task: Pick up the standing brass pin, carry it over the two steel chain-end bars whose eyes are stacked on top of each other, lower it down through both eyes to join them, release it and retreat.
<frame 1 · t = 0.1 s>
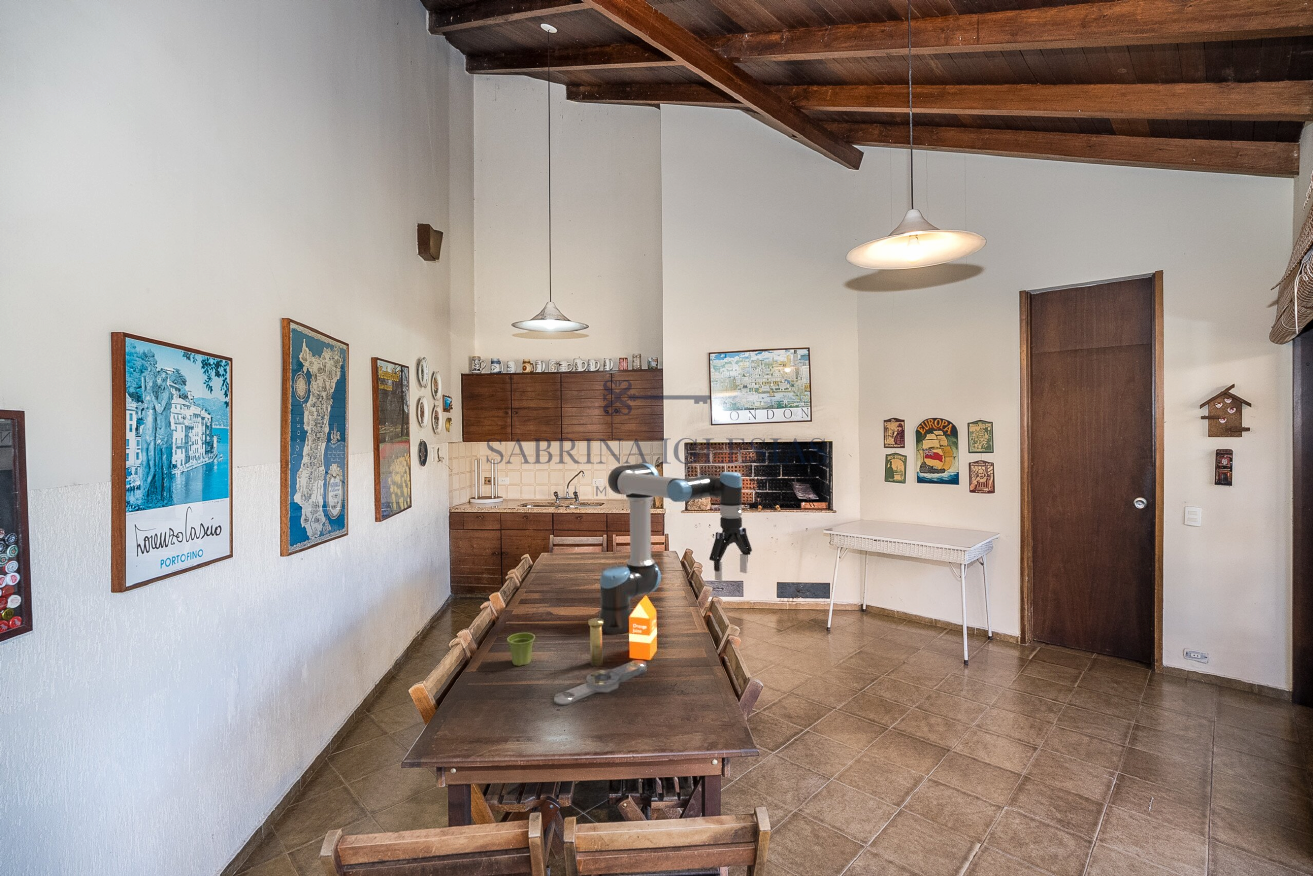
hand: (731, 576, 207), 28 cm above the table, fingers open, 13 cm apart
chain ends: (602, 684, 186), on the table
plant pot: (521, 663, 204), on the table
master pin: (596, 663, 202), on the table
orange juice: (643, 654, 210), on the table
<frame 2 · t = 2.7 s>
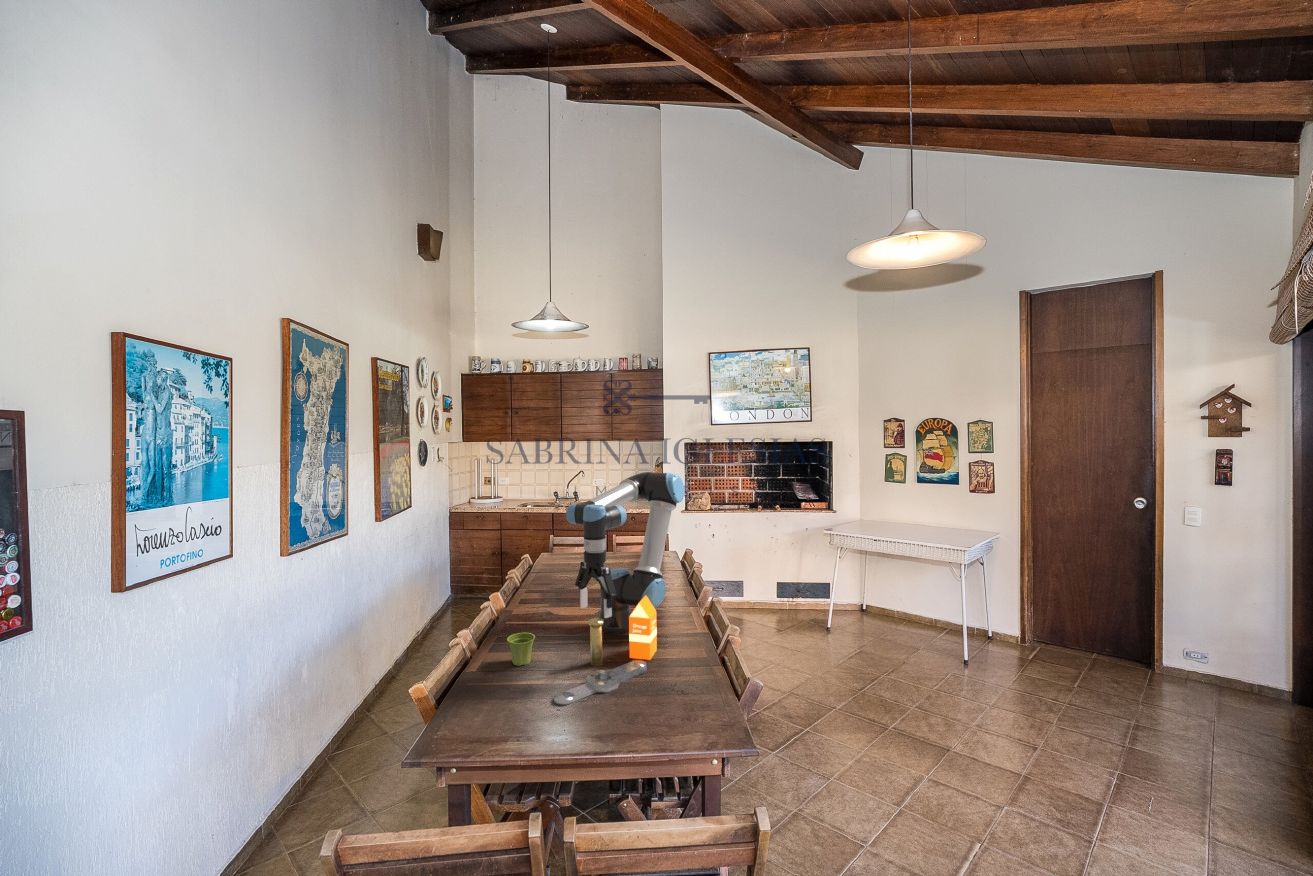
hand: (595, 612, 201), 18 cm above the table, fingers open, 13 cm apart
nothing on the table moved.
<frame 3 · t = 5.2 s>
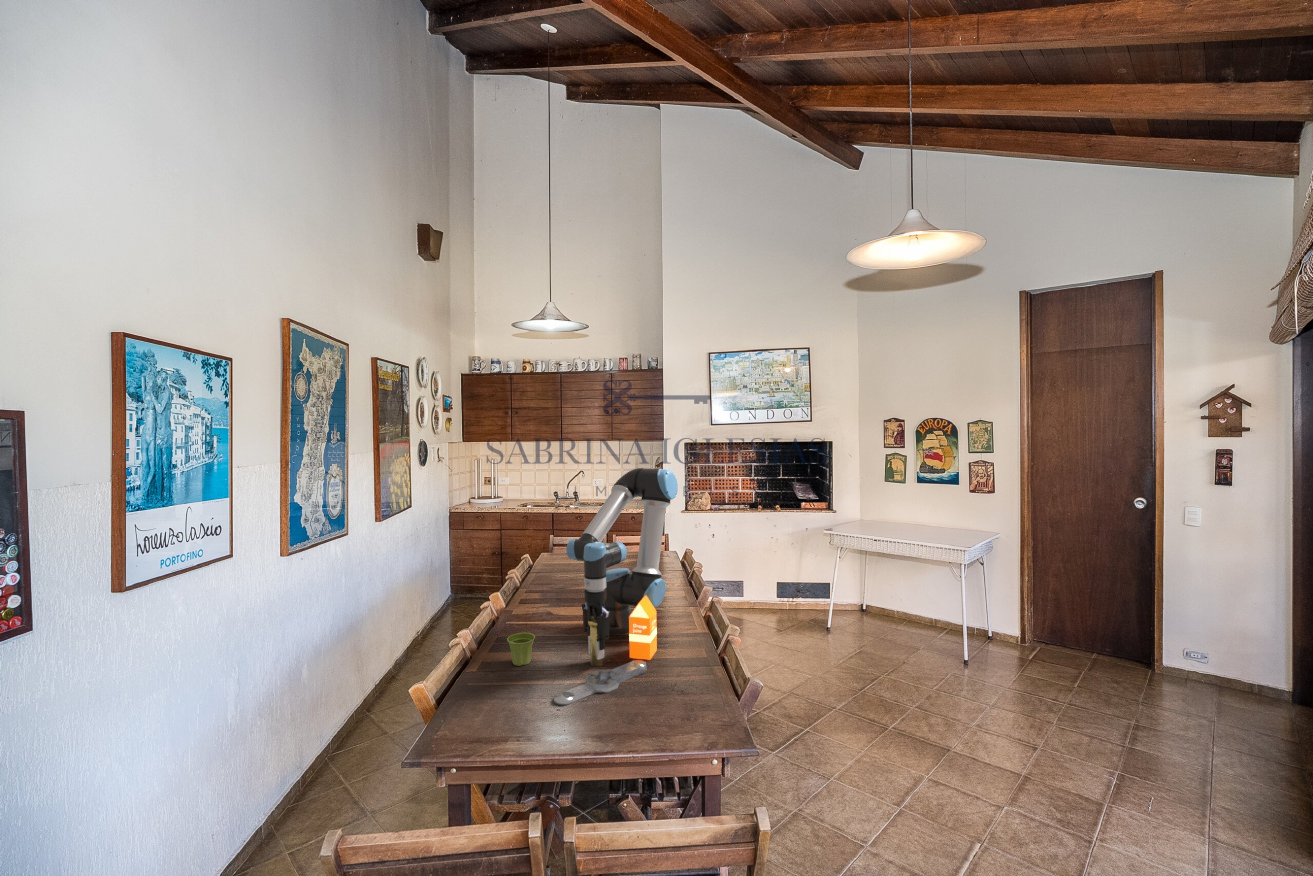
hand: (596, 656, 202), 3 cm above the table, fingers closed on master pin, 4 cm apart
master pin: (596, 663, 202), on the table, touching gripper
everything else where it was.
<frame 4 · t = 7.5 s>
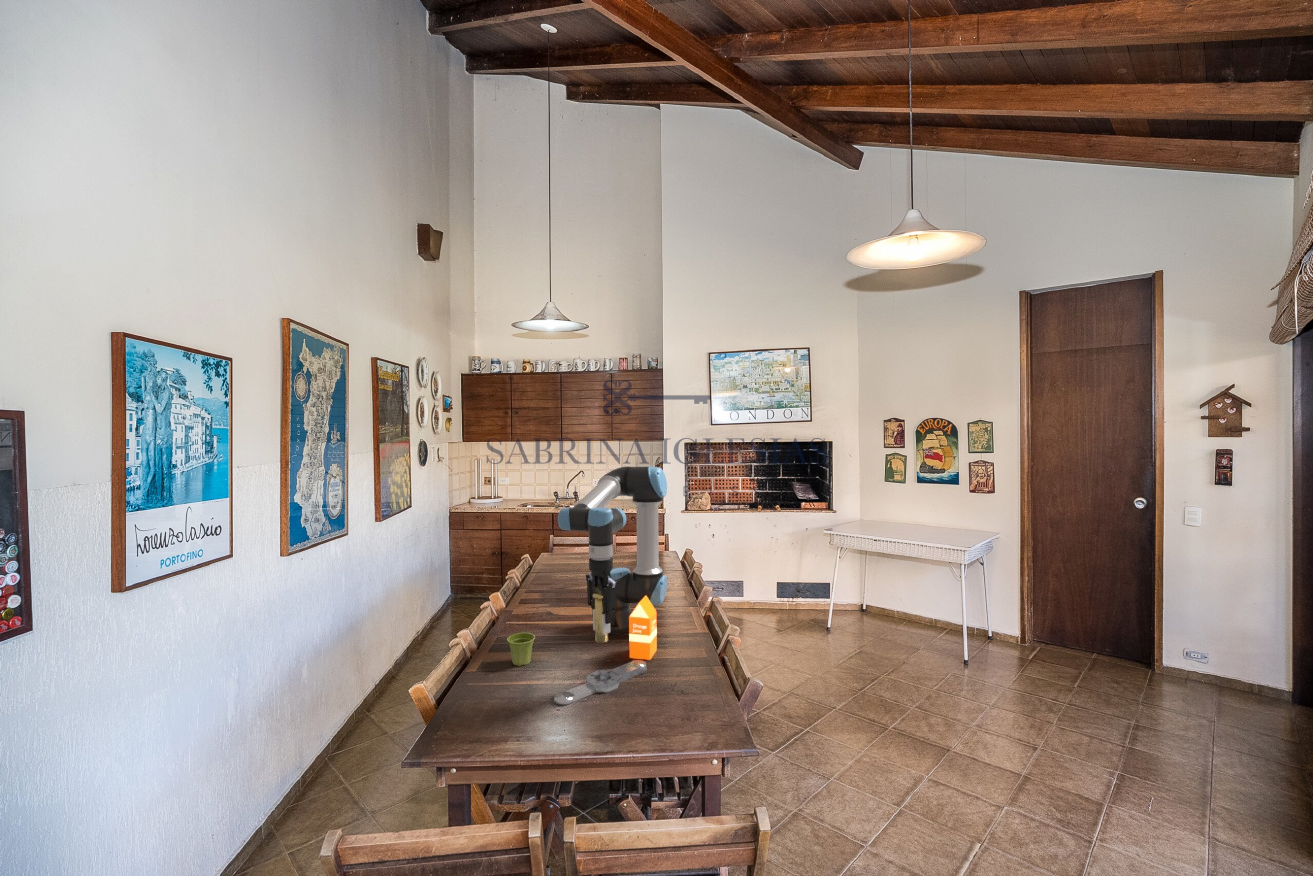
hand: (601, 631, 185), 17 cm above the table, fingers closed on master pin, 4 cm apart
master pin: (601, 640, 185), point 14 cm above the table, touching gripper
everything else where it was.
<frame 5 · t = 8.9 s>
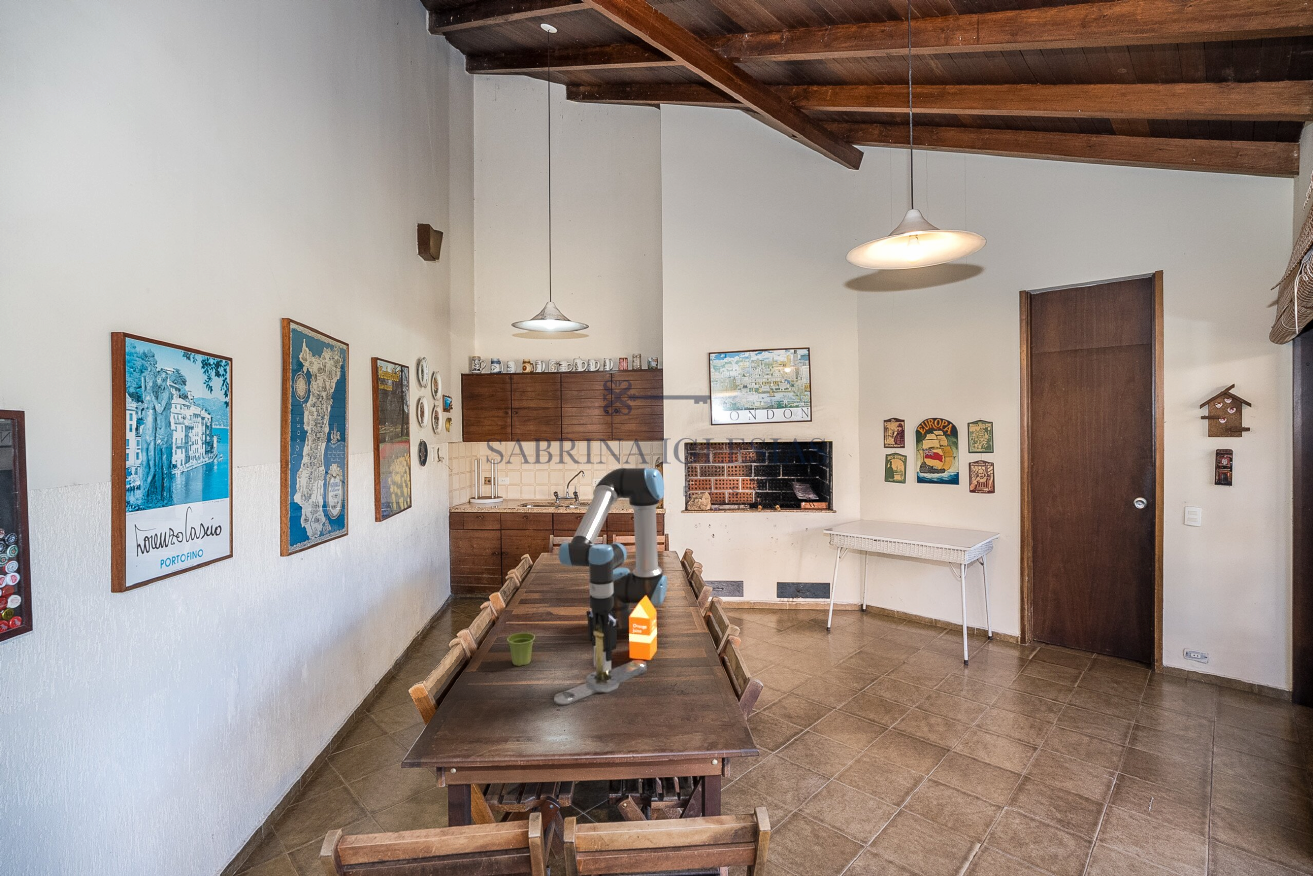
hand: (602, 667, 186), 6 cm above the table, fingers closed on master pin, 4 cm apart
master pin: (602, 677, 186), point 2 cm above the table, touching gripper
everything else where it was.
when the fingers open (4 cm above the table, at t = 9.9 s): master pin stays where it is, resting in chain ends.
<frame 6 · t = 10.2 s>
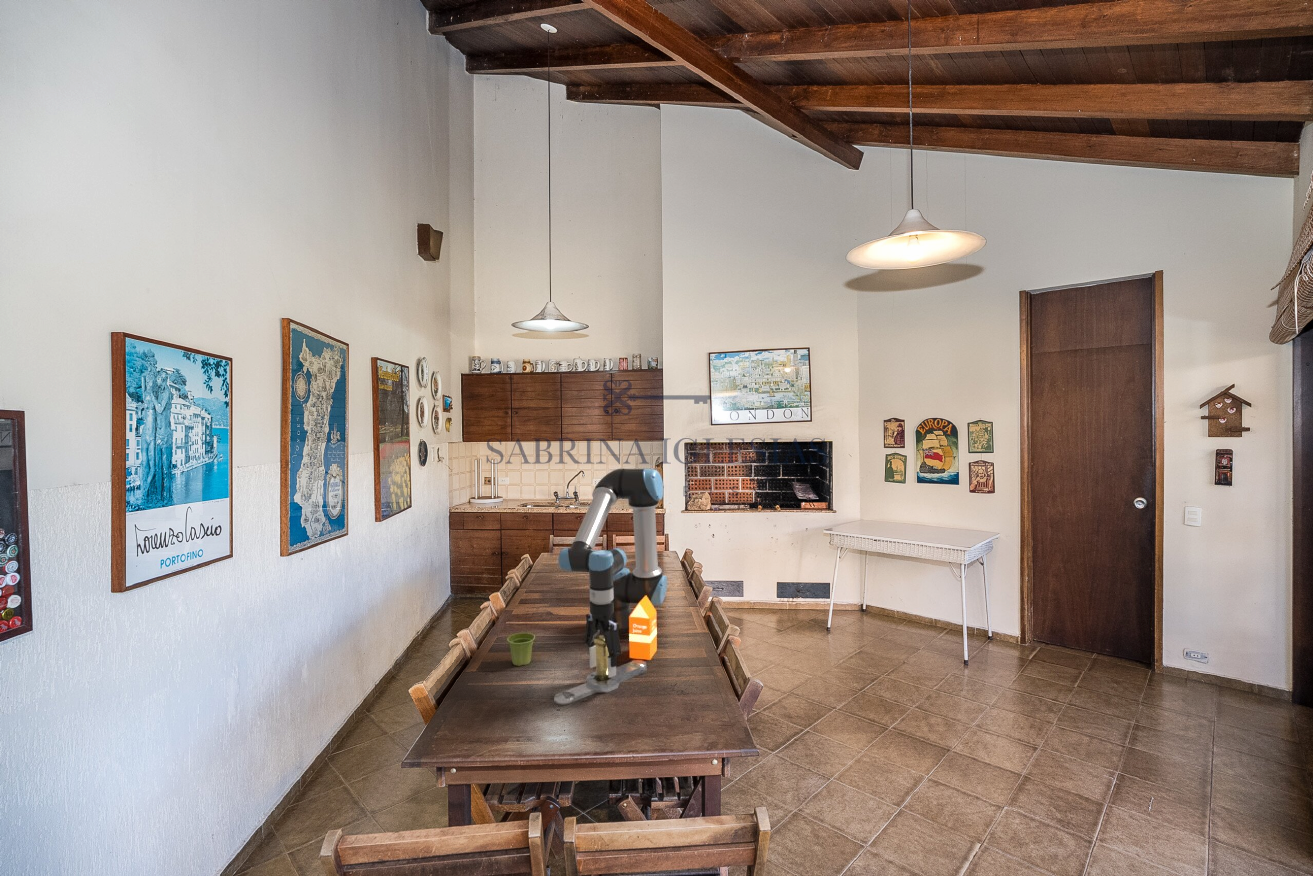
hand: (602, 671, 186), 4 cm above the table, fingers open, 9 cm apart
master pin: (602, 684, 186), resting in chain ends
everything else where it was.
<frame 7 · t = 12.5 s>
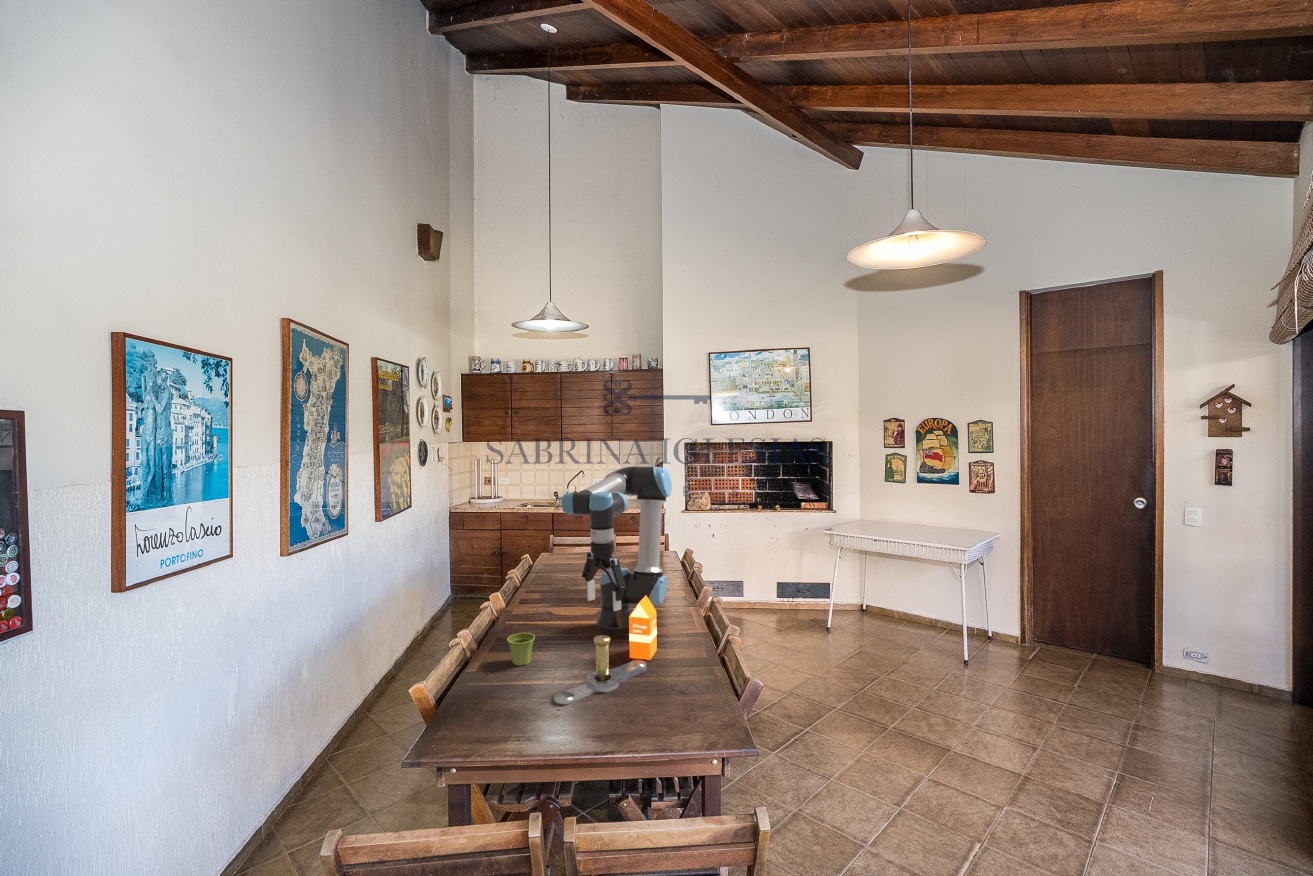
hand: (603, 605, 192), 24 cm above the table, fingers open, 13 cm apart
nothing on the table moved.
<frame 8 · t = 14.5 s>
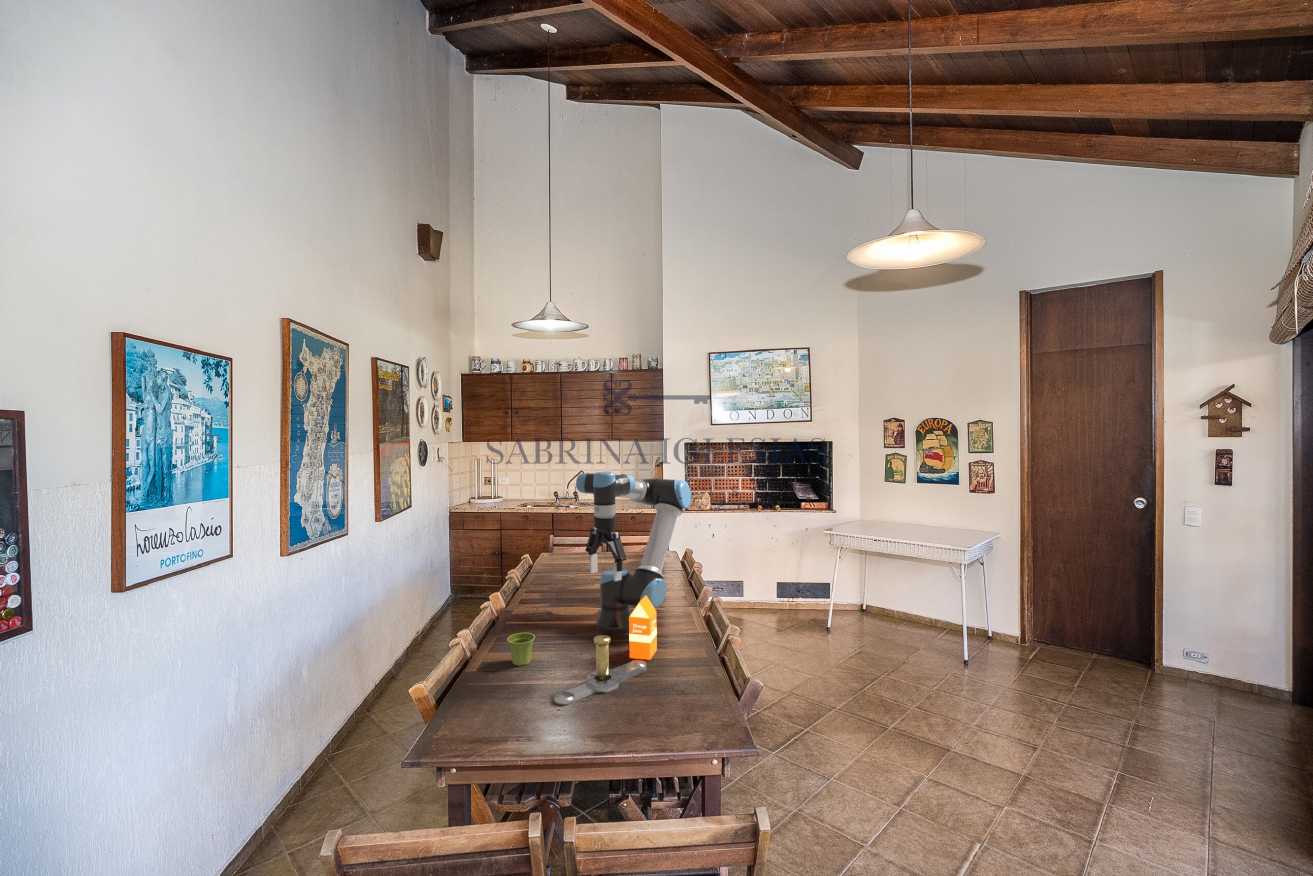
hand: (605, 576, 206), 29 cm above the table, fingers open, 13 cm apart
nothing on the table moved.
at the end: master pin 0.0 cm off-centre on the chain ends, point 0.0 cm above the chain ends's base; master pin tilted 0°; the gripper is holding nothing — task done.
